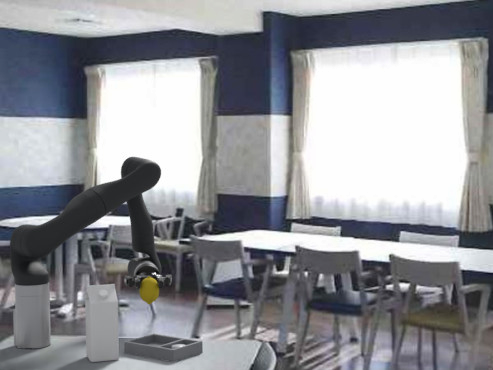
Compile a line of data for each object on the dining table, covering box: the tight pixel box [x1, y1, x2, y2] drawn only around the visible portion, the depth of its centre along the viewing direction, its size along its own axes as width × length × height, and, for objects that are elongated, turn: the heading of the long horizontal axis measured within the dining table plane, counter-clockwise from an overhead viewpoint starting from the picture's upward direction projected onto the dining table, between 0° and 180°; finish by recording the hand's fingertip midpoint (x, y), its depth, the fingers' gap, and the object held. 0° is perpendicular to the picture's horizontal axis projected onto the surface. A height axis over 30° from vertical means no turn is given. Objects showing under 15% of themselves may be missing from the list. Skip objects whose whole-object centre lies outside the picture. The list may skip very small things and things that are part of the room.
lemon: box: [138, 276, 160, 306], centre depth 233 cm, size 6×6×8 cm
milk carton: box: [84, 283, 120, 363], centre depth 213 cm, size 7×7×19 cm
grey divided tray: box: [123, 333, 204, 363], centre depth 219 cm, size 17×12×3 cm
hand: (149, 284), depth 231 cm, fingers closed on lemon, 5 cm apart
